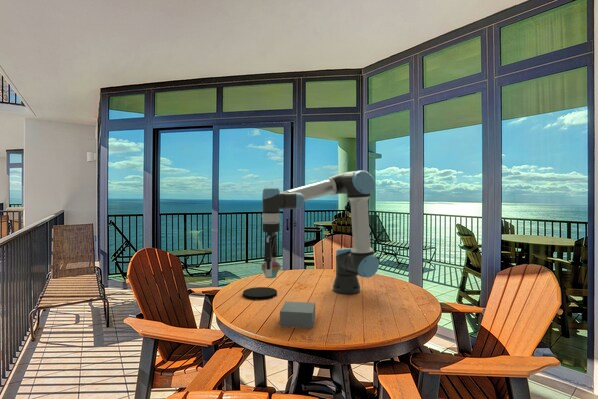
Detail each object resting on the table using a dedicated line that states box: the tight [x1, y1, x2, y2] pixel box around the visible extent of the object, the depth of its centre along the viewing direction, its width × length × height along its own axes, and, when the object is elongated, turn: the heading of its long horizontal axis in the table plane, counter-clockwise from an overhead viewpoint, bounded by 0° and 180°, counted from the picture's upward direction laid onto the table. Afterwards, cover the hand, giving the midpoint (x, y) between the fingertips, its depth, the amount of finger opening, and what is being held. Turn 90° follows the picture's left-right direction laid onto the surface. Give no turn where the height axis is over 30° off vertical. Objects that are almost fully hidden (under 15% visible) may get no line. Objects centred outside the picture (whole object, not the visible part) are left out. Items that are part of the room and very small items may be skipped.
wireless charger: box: [242, 286, 278, 301], centre depth 179 cm, size 18×18×2 cm
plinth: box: [279, 300, 316, 329], centre depth 141 cm, size 13×13×6 cm
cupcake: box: [261, 261, 282, 279], centre depth 151 cm, size 9×8×12 cm
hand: (271, 274), depth 151 cm, fingers closed on cupcake, 8 cm apart
